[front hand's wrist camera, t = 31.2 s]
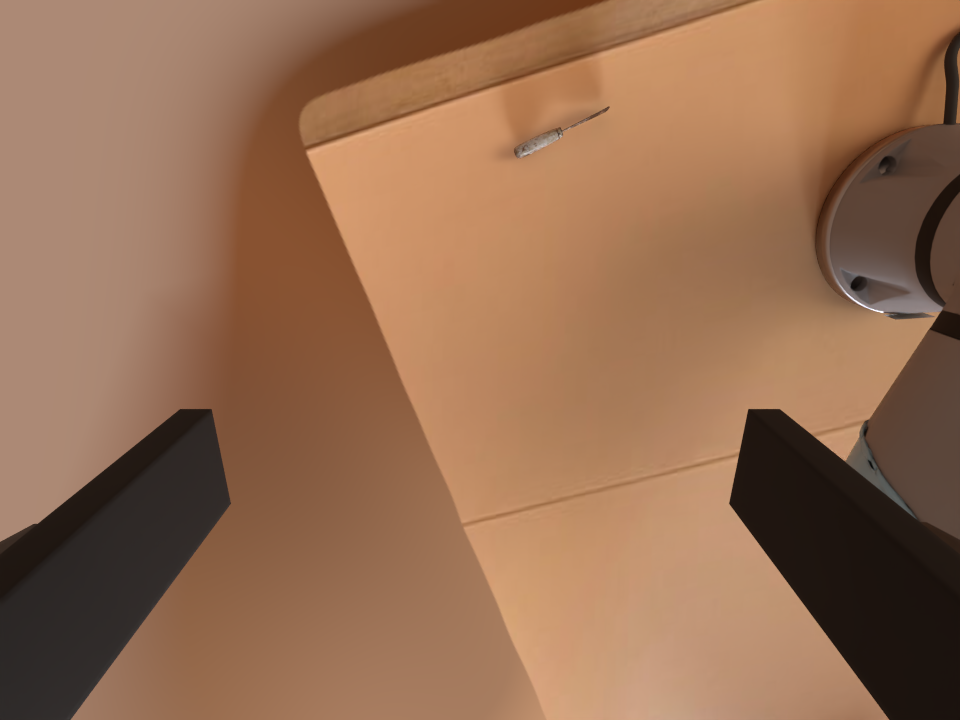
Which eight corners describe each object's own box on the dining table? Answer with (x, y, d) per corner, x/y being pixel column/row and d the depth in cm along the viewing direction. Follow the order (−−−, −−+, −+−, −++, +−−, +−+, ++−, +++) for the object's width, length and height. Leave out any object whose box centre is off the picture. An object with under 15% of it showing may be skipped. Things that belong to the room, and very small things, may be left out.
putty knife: (512, 148, 42) (513, 148, 40) (603, 101, 41) (608, 98, 39) (517, 160, 42) (518, 160, 41) (608, 113, 41) (613, 111, 40)
